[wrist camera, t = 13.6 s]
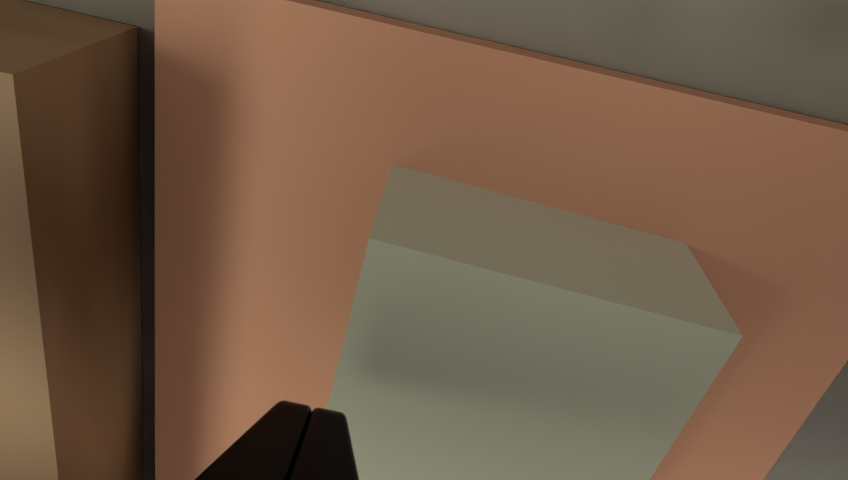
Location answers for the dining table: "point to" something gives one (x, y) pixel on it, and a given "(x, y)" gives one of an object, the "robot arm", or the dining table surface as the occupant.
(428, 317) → the sage tile
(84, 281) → the walnut board
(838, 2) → the dining table surface
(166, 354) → the terracotta mat
